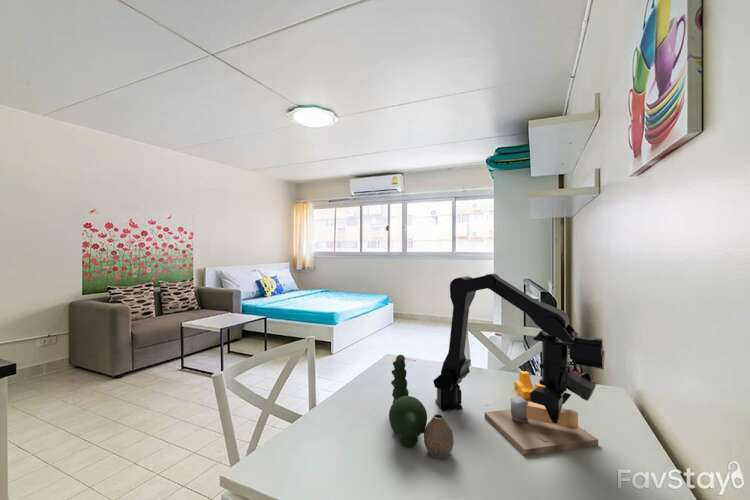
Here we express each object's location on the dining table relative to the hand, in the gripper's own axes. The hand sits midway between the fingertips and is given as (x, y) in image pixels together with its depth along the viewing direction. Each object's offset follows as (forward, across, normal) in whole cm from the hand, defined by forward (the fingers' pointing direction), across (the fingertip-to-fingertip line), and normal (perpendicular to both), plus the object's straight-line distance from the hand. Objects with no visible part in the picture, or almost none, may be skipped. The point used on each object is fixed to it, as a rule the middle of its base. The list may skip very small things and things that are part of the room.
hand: (554, 422), depth 84 cm
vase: (+5, -24, +18) cm, 31 cm away
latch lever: (+1, +2, +3) cm, 4 cm away
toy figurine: (+5, -22, +30) cm, 38 cm away
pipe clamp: (+4, +20, +13) cm, 24 cm away
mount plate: (+4, +2, +5) cm, 7 cm away
